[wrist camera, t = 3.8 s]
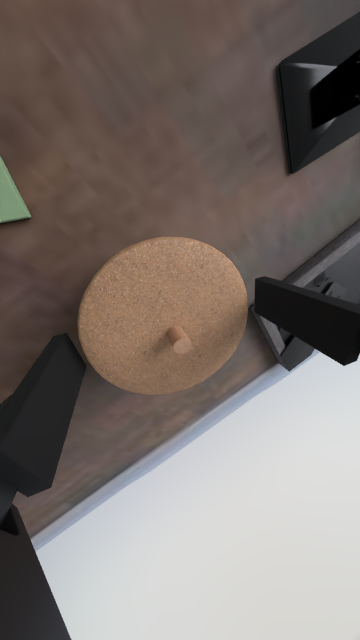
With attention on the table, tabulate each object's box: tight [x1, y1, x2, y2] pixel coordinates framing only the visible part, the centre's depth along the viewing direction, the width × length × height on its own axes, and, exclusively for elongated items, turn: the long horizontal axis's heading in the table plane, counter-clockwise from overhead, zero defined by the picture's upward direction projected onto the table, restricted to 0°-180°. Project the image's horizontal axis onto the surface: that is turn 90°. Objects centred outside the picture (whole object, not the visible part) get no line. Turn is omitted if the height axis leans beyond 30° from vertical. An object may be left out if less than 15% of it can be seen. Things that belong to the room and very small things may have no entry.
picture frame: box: [250, 219, 360, 371], centre depth 24 cm, size 13×2×18 cm
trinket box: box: [77, 237, 248, 395], centre depth 13 cm, size 11×11×9 cm
